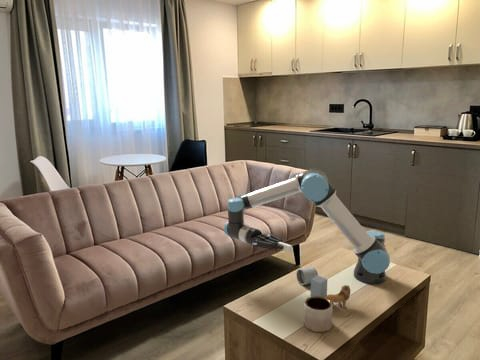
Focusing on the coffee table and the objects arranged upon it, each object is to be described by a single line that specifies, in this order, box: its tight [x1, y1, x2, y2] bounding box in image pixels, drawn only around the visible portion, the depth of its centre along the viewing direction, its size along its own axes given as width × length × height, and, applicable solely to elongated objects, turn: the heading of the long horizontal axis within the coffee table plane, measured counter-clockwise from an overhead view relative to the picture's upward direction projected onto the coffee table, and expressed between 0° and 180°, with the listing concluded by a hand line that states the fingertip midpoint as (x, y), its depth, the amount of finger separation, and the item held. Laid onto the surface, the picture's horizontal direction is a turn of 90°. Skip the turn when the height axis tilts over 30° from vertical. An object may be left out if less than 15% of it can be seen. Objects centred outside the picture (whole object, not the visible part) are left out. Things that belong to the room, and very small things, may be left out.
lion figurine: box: [326, 284, 351, 313], centre depth 165 cm, size 15×5×9 cm, turn 119°
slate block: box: [310, 275, 328, 298], centre depth 172 cm, size 5×5×10 cm
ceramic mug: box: [295, 266, 319, 286], centre depth 189 cm, size 11×8×8 cm
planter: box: [303, 296, 333, 333], centre depth 154 cm, size 11×11×10 cm
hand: (290, 249), depth 165 cm, fingers closed
